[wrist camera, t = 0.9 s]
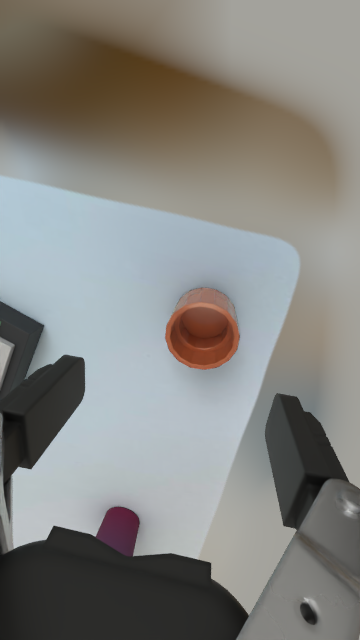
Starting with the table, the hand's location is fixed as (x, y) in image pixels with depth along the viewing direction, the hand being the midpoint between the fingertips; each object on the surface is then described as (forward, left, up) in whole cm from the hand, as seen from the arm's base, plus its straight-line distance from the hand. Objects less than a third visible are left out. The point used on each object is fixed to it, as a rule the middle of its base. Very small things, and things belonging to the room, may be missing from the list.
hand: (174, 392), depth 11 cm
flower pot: (+2, +2, -15) cm, 15 cm away
